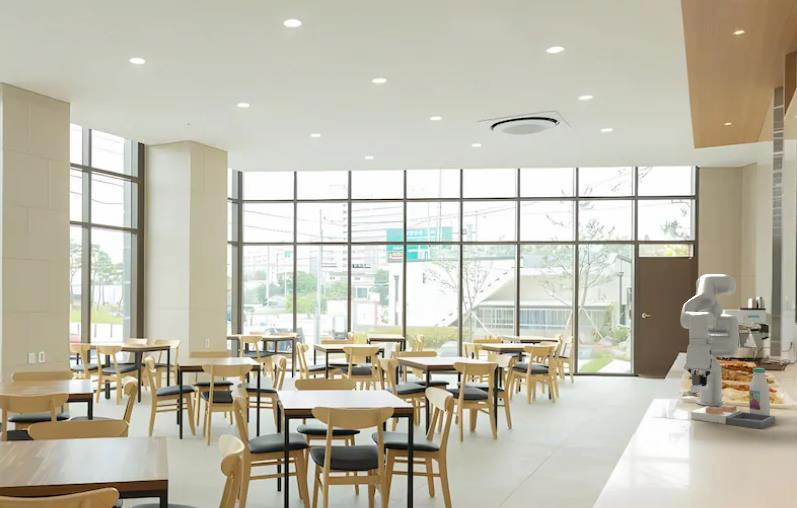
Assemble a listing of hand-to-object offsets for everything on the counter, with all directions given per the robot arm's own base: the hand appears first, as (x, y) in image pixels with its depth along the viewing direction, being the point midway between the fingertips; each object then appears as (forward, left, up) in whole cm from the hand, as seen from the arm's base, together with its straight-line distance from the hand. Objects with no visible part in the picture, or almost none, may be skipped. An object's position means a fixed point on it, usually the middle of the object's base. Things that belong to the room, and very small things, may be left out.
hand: (699, 385), depth 305 cm
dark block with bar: (0, 0, -2) cm, 2 cm away
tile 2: (-4, +10, -10) cm, 15 cm away
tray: (0, +20, -13) cm, 24 cm away
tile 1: (+4, +7, -10) cm, 13 cm away
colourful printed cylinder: (-19, +17, -13) cm, 29 cm away
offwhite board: (0, +6, -13) cm, 15 cm away
